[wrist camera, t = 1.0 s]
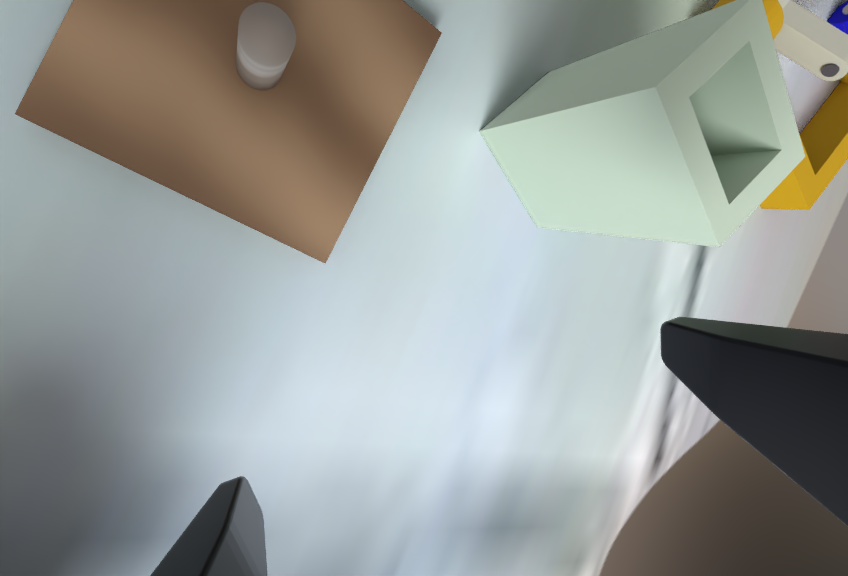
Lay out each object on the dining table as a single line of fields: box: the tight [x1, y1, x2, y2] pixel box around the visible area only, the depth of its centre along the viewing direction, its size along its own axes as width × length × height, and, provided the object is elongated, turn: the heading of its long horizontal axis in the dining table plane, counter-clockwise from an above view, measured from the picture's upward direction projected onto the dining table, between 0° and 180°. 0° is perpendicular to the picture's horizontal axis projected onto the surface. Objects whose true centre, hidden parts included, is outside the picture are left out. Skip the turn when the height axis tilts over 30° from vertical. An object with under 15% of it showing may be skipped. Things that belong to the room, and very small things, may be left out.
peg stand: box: [15, 0, 441, 263], centre depth 15 cm, size 11×11×5 cm
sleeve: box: [480, 0, 805, 247], centre depth 19 cm, size 5×6×10 cm
